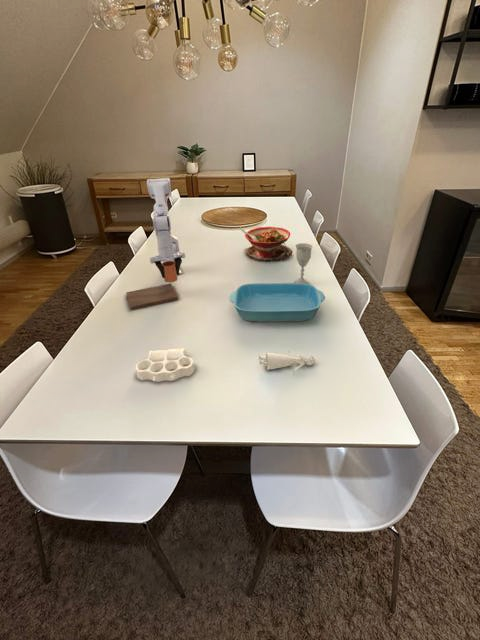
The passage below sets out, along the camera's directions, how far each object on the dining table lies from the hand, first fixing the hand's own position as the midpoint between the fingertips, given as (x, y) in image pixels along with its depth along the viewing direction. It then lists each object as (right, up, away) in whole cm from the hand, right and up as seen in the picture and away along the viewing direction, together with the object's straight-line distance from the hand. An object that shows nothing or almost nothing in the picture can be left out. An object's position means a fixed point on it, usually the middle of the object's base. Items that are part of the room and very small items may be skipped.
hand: (170, 275), depth 149 cm
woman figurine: (+45, -34, -38) cm, 68 cm away
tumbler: (0, -2, +1) cm, 2 cm away
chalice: (+58, -3, +9) cm, 59 cm away
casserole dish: (+45, -15, -10) cm, 48 cm away
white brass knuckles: (+6, -35, -38) cm, 52 cm away
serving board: (-9, -9, +3) cm, 13 cm away
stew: (+44, +16, +38) cm, 60 cm away
